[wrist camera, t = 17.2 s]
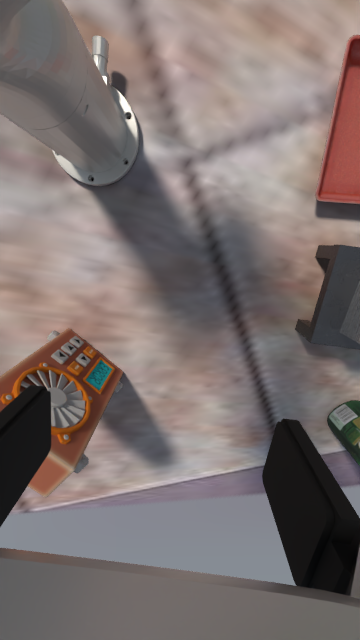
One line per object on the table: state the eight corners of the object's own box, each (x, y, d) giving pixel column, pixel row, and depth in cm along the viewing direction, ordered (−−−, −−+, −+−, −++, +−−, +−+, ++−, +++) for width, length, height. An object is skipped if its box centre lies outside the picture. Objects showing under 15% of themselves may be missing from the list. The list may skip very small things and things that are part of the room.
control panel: (65, 319, 44) (131, 373, 47) (42, 347, 46) (108, 397, 49) (-40, 384, 24) (88, 474, 27) (-74, 430, 26) (50, 510, 28)
